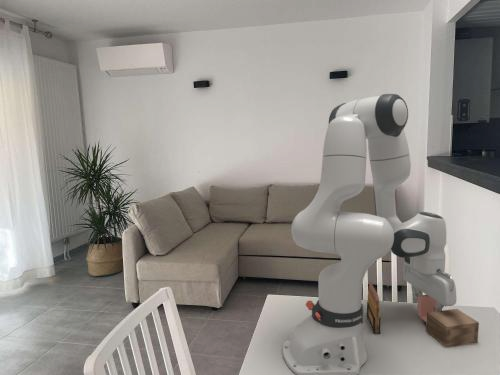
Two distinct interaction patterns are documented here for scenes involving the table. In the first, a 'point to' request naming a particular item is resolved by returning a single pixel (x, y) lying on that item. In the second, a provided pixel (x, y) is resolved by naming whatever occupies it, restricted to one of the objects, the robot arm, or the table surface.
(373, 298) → the brown flat panel
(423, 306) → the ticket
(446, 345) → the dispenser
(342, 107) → the robot arm
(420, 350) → the table surface
